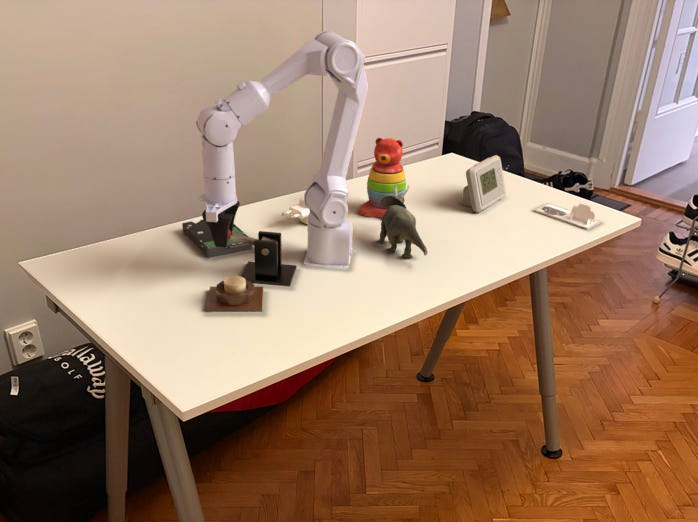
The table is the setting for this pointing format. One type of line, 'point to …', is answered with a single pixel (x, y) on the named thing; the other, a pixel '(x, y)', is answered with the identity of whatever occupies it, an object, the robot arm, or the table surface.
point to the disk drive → (204, 240)
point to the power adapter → (299, 211)
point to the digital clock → (484, 184)
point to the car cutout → (571, 215)
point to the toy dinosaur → (399, 225)
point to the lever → (246, 238)
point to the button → (234, 284)
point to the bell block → (235, 299)
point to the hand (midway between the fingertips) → (223, 242)
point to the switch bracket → (269, 263)
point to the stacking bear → (384, 176)
